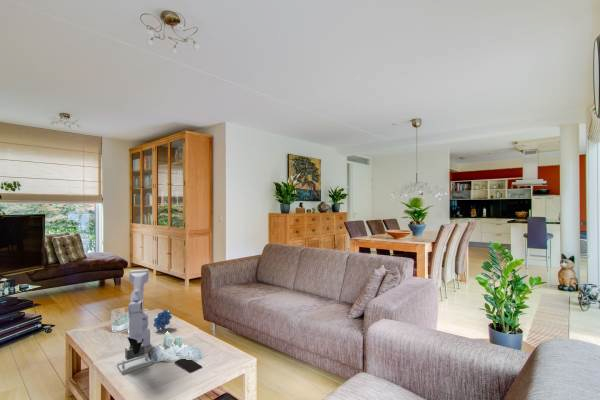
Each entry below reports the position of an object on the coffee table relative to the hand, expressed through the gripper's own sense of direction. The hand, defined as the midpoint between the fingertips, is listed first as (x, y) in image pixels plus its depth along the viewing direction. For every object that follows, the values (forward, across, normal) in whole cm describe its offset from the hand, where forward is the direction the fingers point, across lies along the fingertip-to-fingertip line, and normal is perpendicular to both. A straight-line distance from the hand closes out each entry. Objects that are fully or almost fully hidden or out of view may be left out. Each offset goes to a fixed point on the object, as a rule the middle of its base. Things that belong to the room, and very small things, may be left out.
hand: (135, 352), depth 159 cm
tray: (+7, 0, 0) cm, 7 cm away
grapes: (+7, -38, +27) cm, 47 cm away
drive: (+2, 0, 0) cm, 2 cm away
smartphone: (+8, +18, +20) cm, 28 cm away
